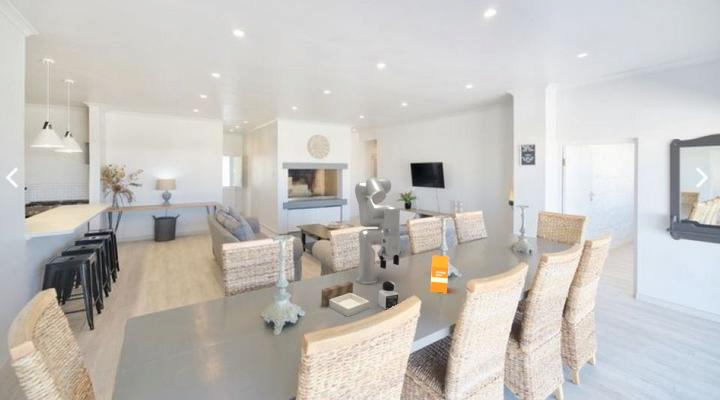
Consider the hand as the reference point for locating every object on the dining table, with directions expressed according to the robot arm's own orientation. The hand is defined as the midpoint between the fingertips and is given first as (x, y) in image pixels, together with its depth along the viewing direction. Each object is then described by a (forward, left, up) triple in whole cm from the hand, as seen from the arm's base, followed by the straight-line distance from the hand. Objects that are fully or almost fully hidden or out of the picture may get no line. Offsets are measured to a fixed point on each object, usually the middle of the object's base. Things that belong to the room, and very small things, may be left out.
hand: (389, 266), depth 159 cm
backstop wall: (+16, -20, -20) cm, 33 cm away
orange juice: (-39, +4, -20) cm, 44 cm away
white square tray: (+16, -11, -20) cm, 28 cm away
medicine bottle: (0, 0, -20) cm, 20 cm away
